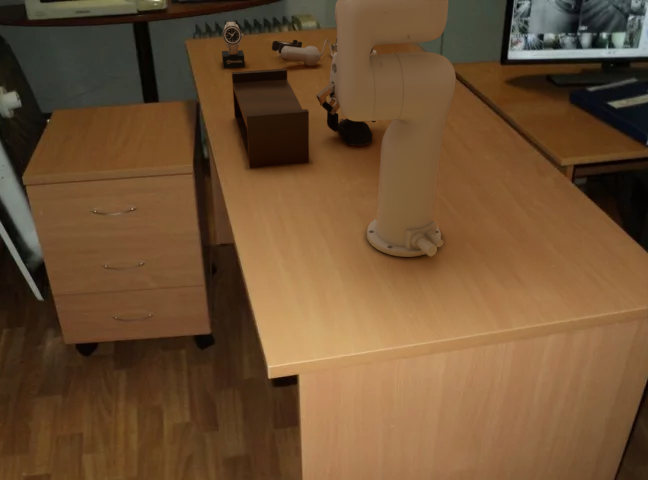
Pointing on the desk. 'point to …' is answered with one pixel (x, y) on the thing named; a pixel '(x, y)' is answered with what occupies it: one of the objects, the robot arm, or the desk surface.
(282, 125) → the shelf
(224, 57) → the watch
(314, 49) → the clip-on lamp
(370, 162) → the desk surface
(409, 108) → the robot arm
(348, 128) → the gaming mouse
